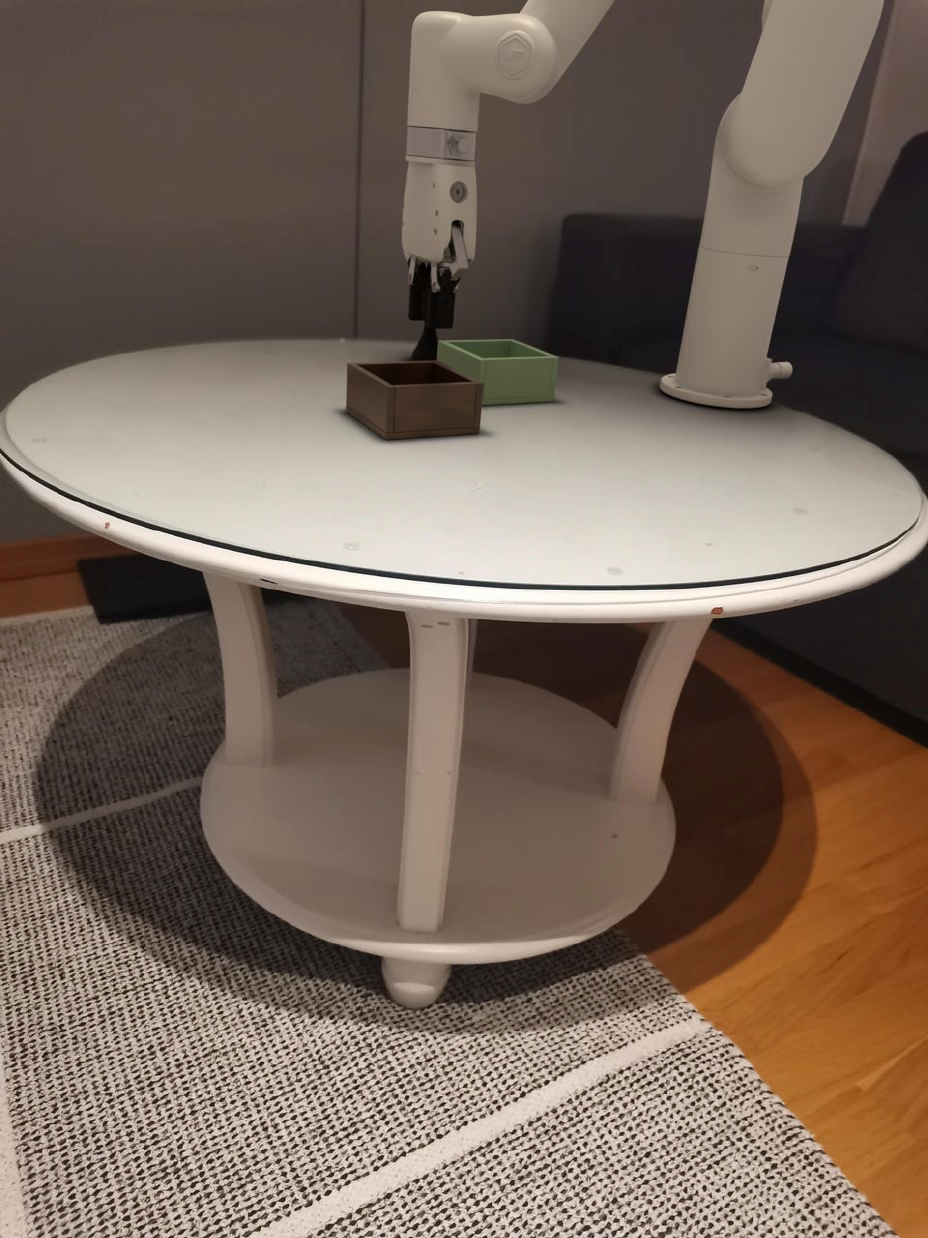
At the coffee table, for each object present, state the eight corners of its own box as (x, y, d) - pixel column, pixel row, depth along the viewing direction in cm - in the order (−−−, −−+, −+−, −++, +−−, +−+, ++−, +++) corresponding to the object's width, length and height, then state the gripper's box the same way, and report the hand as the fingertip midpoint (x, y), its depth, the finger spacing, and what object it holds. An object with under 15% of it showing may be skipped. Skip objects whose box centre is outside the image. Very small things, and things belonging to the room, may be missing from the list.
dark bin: (434, 406, 94) (437, 359, 92) (479, 433, 86) (484, 383, 84) (345, 411, 89) (346, 362, 87) (385, 439, 82) (388, 387, 80)
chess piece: (406, 365, 110) (411, 274, 105) (412, 357, 114) (417, 270, 109) (443, 369, 109) (450, 278, 105) (448, 361, 113) (454, 273, 109)
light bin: (508, 380, 107) (512, 338, 105) (553, 401, 100) (559, 357, 98) (434, 383, 103) (437, 340, 100) (476, 405, 95) (480, 359, 93)
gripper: (510, 155, 96) (493, 338, 105) (437, 147, 109) (427, 311, 118) (445, 150, 93) (433, 339, 101) (377, 142, 106) (371, 311, 114)
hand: (430, 322), depth 109 cm, fingers open, 4 cm apart
